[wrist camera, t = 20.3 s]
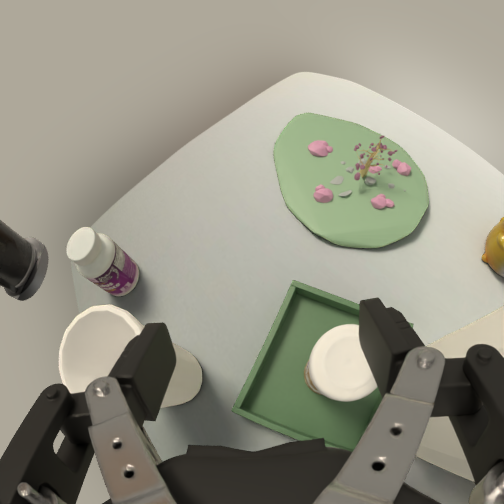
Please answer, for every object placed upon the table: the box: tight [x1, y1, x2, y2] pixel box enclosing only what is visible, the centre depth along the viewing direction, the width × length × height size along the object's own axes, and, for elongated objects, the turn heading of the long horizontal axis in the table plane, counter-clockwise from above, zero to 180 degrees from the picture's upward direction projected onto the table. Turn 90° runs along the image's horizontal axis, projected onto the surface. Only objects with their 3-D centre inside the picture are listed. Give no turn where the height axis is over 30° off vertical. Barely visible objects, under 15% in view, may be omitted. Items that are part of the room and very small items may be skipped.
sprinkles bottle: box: [304, 324, 378, 402], centre depth 21 cm, size 5×5×13 cm
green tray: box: [231, 280, 413, 452], centre depth 27 cm, size 14×13×3 cm
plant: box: [274, 113, 429, 248], centre depth 34 cm, size 25×21×9 cm
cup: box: [59, 304, 202, 408], centre depth 23 cm, size 8×8×14 cm
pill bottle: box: [67, 227, 139, 296], centre depth 32 cm, size 5×5×10 cm
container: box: [416, 306, 504, 482], centre depth 16 cm, size 14×14×18 cm
